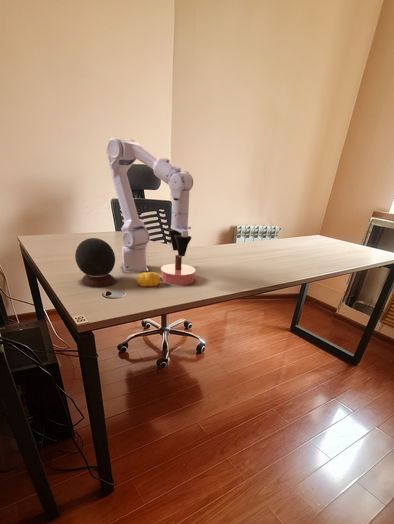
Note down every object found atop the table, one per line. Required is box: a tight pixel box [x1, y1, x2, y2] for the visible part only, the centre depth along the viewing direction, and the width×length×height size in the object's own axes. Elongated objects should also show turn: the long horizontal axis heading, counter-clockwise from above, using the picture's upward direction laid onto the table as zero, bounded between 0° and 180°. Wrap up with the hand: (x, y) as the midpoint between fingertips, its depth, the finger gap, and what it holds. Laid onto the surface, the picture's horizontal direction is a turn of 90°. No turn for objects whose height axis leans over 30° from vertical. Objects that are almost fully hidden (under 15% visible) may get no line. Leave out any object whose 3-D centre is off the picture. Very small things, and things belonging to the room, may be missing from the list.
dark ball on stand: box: [74, 237, 116, 288], centre depth 106 cm, size 13×13×15 cm
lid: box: [160, 254, 196, 276], centre depth 113 cm, size 13×13×6 cm
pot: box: [161, 271, 195, 286], centre depth 115 cm, size 12×12×4 cm
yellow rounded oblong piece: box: [136, 271, 163, 288], centre depth 108 cm, size 9×5×5 cm, turn 108°
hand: (178, 253), depth 110 cm, fingers open, 7 cm apart
